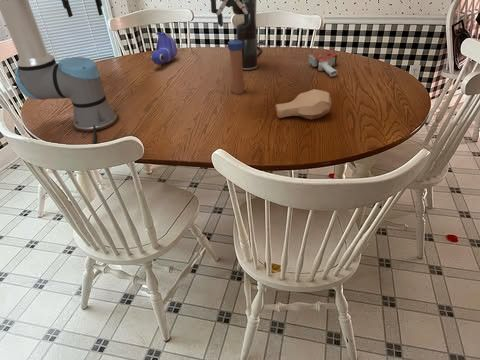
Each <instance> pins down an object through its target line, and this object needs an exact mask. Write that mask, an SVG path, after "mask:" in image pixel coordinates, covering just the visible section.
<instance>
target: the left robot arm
mask: <svg viewBox="0 0 480 360" xmlns="http://www.w3.org/2000/svg"><path fill="white" fill-rule="evenodd" d="M60 1H61V3H62V6H63V8H64V9H65V10H66V13H67V16H68V18H71V17H73V16H74V15H73V12H72V8H71V5H70V2H69V0H60ZM94 2H95V5H96V9H97V12H98V16H102V15H103V13H104V12H103V9H102V7H103V1H102V0H94ZM0 14H1V17H2V18H3V21H4V24H5V26H6V29H7V30H8V33H9V35H10V38H11V41H12V43H13V45H14V48H15V50H16V52H17V55H18V57H19V59H18V60H17V62H16V65H17V67H16V68H15V70H14V76H15V77H14V80H15V84H16V86H17V87H18V89H19V90H20V92H21V94H23V95H24V96H25V97H26V98H29V99H31V100H41V101H44V100H45V101H47V100H59V99H69V100H70V101H71V104H72V108H73V114H72V117H73V118H72V119H73V125H74V128H75V129H76V131H78V132H84V133H92V132H93V141H92V142H93V144H94V145H96V144H97V132H99V131H102V130H105V129H107V128H110V127H111V126H113V125H115V124H116V122H117V121H118V116H117V113H118V111H117V110H114V108H113V107H112V105H111V103H110V102H109V101H108V99H107V96H106V92H105V89H104V87H103V86H104V85H103V83H102V79H101V73H100V71H99V69H98V66H97V64H96V62H95V61H94V60H92V59H90V58H88V57H84V56H83V57H82V56H70V57H65V58H62V59H60V60H59V61H58V63H57V61H56V59H55V56H54V55H53V54H51V53H49V52H48V51H47V47H46V45H45V42H44V39H43V36H42V34H41V31H40V28H39V26H38V23H37V20H36V18H35V14H34V12H33V9H32V6H31V3H30V1H29V0H0Z"/></svg>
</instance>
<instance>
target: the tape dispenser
mask: <svg viewBox="0 0 480 360" xmlns="http://www.w3.org/2000/svg"><path fill="white" fill-rule="evenodd" d="M324 55H326V56H324ZM322 56H324V57H322ZM337 59H338V54H337V53H336V52H335V51H327V52H321V53H315V54H308V64H309V65H311V66H312V67H314V68H315V67H318V68H317V70H318V71H319V72H321V71H325V73H326V74H328V76H329V77H330V78H333V77H336V76H337V75H338V70H337V69H335V68H333V66H336V64H337Z"/></svg>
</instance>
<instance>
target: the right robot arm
mask: <svg viewBox="0 0 480 360" xmlns="http://www.w3.org/2000/svg"><path fill="white" fill-rule="evenodd" d="M225 7H227V8H231V9H232V12H233V14H234V15H236V16H243V21H240V22H238V23H237V24H236V25H235V26H236V40H240V41H242V42H243V49H242V67H243V71H252V70H256V69H257V68H258V57H259V55H260V54H261V53H262V52H263V49H262V48H260V47H259V46H258V45H259V44H264V42H263V41H258V37H257V34H258V33H257V0H221V4H220V5H219V8H217V0H210V13H211V14H215V15H216V16H217V24H218V26H219V27H224V18H223V17H224V15H223V11H224V9H225ZM258 50H260V51H259V52H258Z"/></svg>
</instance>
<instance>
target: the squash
mask: <svg viewBox="0 0 480 360" xmlns="http://www.w3.org/2000/svg"><path fill="white" fill-rule="evenodd" d="M331 107H332V98H331V94H330V92H328V91H326V90H321V89H317V88H316V89H315V88H313V89H311V90H308V91H305V92H301V93H299V94H298V95H297V96H296V97H295V98H294V99H293V100H292V101H289V102H288V101H287V102H283V103H276V104H275V106H274V110H275V111H276V116H277V118H278V119H283V118H286V117H301V118H304V119H308V120H316V119H321V118H322V117H324V116H326V115H328V114H330V111H331Z"/></svg>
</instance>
